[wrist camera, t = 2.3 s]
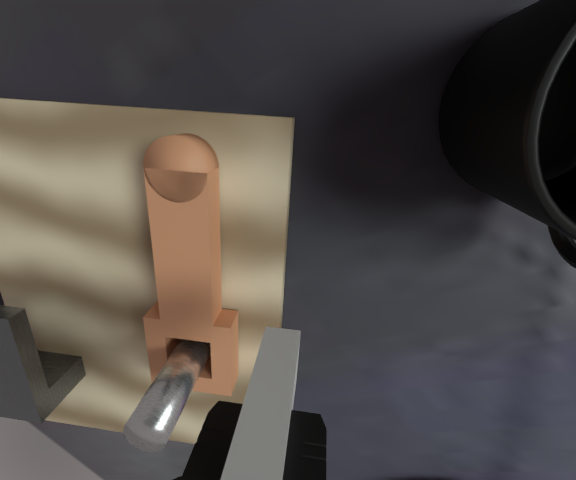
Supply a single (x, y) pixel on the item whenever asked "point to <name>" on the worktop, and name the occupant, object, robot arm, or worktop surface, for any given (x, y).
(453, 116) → the mug
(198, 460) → the robot arm
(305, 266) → the worktop surface
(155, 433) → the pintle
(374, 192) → the worktop surface
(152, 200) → the link
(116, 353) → the board
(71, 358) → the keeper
